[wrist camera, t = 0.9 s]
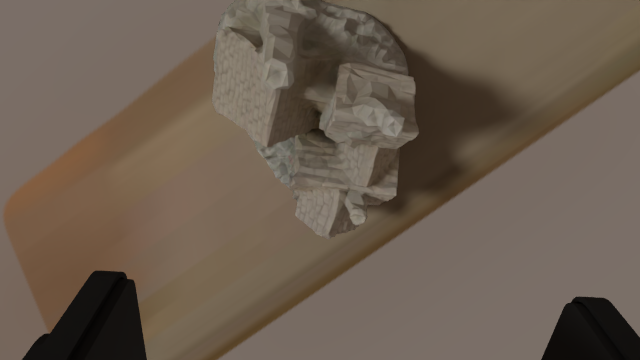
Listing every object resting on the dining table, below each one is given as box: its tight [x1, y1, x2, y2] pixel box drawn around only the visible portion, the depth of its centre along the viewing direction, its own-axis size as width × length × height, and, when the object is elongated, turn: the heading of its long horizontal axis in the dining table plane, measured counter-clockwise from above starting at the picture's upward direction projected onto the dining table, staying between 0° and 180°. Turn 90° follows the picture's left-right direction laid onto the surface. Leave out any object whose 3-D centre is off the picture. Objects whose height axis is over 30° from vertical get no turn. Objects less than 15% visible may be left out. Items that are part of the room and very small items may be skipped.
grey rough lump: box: [212, 0, 419, 239], centre depth 30 cm, size 16×16×15 cm
